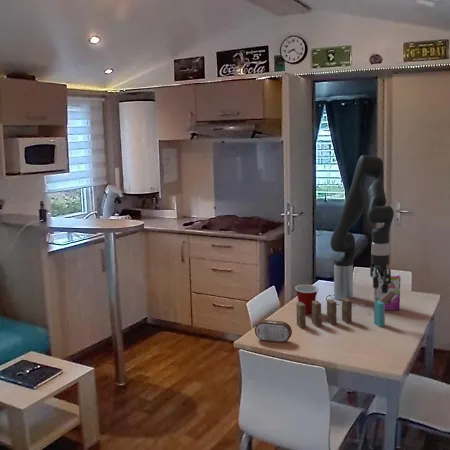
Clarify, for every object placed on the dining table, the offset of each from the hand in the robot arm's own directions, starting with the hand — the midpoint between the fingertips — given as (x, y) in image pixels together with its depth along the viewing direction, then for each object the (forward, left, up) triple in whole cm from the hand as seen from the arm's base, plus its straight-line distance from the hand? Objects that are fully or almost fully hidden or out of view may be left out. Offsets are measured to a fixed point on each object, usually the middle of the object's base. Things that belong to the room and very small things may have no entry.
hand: (380, 290), depth 240 cm
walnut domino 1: (-8, -33, -15) cm, 37 cm away
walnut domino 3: (-8, -19, -15) cm, 26 cm away
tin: (+6, -49, -16) cm, 52 cm away
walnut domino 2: (-8, -26, -16) cm, 31 cm away
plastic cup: (-25, -24, -16) cm, 38 cm away
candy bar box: (-19, +13, -16) cm, 28 cm away
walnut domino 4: (-8, -12, -16) cm, 21 cm away
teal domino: (0, 0, -15) cm, 15 cm away
